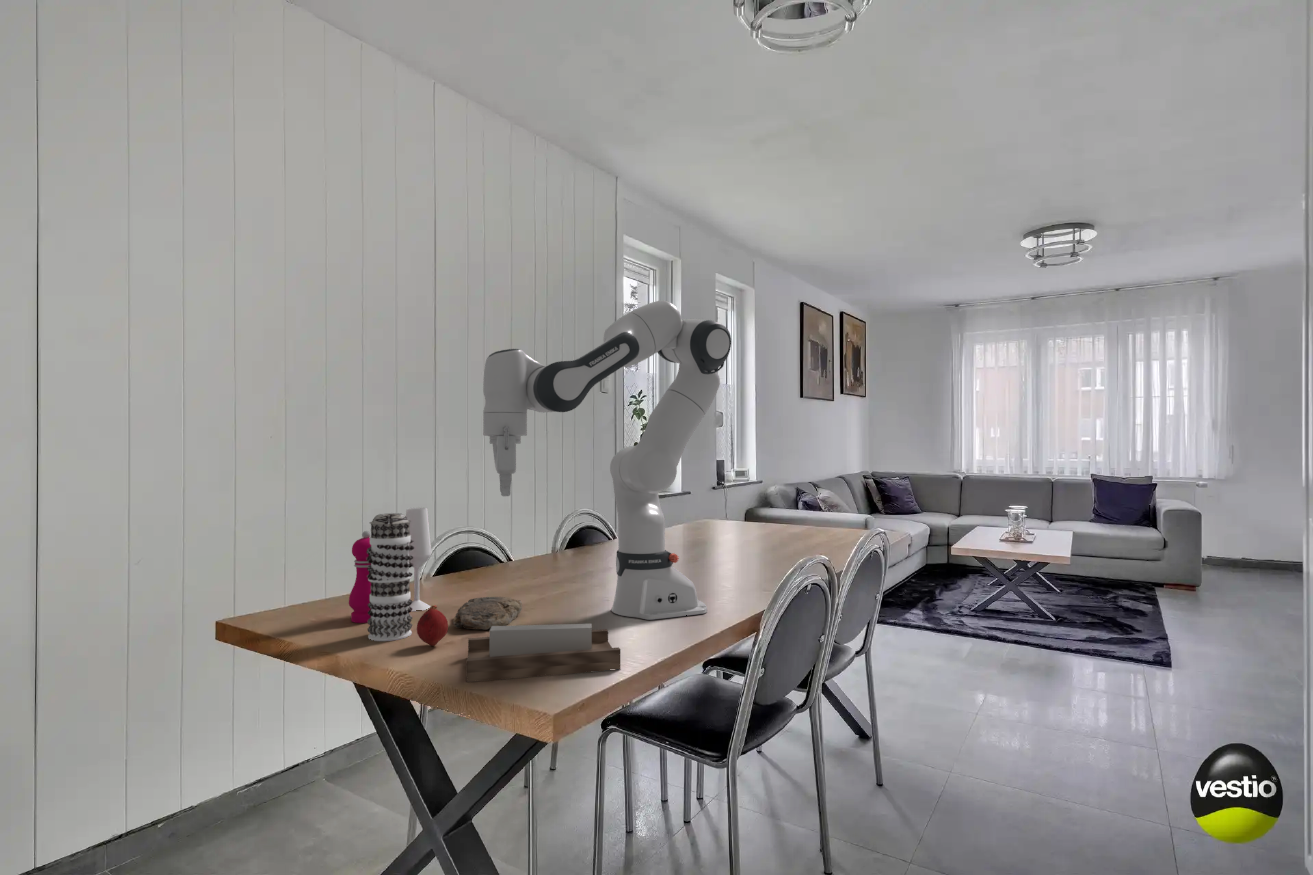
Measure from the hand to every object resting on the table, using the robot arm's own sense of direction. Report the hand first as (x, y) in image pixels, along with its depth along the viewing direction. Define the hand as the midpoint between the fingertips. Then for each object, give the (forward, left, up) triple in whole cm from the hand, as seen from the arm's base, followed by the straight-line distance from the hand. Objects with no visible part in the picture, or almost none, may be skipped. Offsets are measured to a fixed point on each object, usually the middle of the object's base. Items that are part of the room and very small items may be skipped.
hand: (505, 494), depth 144 cm
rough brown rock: (+4, -14, -30) cm, 33 cm away
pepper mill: (+30, -21, -29) cm, 47 cm away
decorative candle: (+23, -6, -29) cm, 38 cm away
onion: (+14, +4, -29) cm, 33 cm away
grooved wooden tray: (-6, +20, -29) cm, 36 cm away
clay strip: (-6, +20, -28) cm, 35 cm away
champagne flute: (+20, -30, -29) cm, 46 cm away
